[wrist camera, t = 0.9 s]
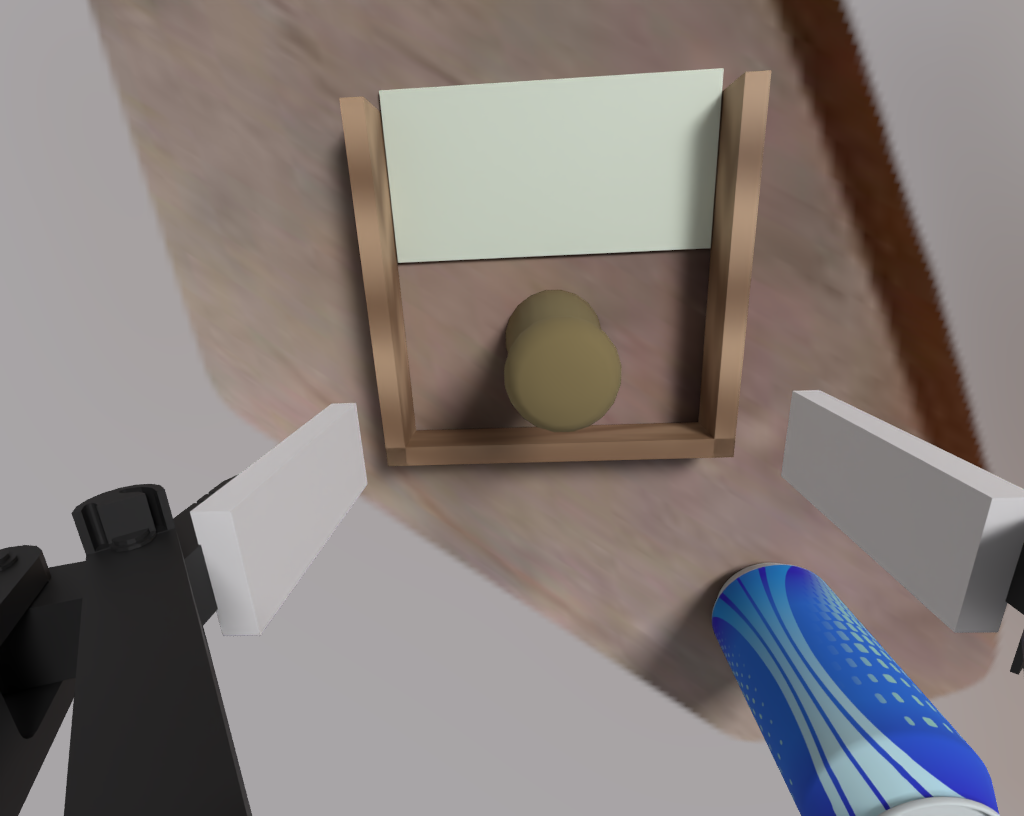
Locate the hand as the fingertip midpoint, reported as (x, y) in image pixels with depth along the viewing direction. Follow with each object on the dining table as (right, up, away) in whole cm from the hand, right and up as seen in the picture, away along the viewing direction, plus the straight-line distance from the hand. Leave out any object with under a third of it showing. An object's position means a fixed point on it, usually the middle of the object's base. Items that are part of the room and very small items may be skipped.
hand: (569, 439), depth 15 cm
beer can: (+17, -13, +21) cm, 30 cm away
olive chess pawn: (+1, +5, +16) cm, 17 cm away
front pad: (0, +14, +13) cm, 19 cm away
